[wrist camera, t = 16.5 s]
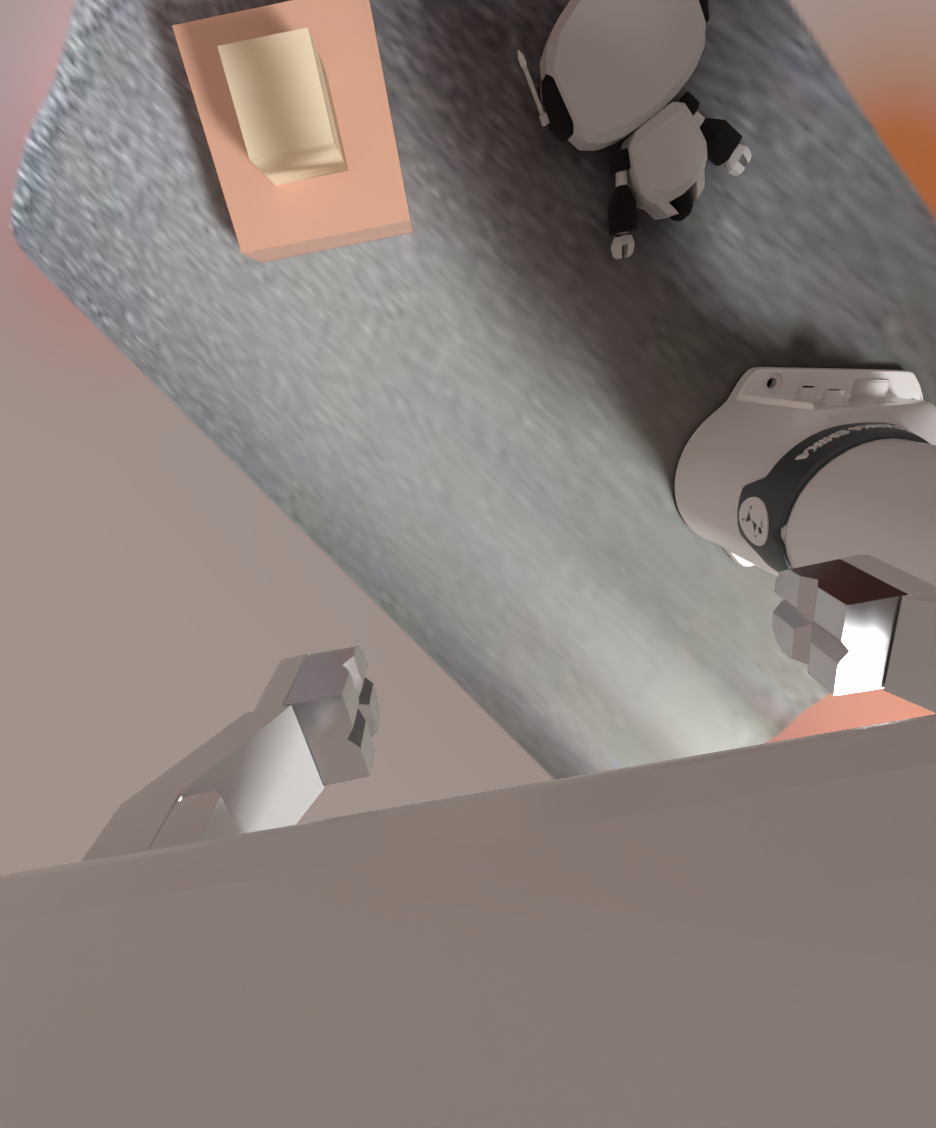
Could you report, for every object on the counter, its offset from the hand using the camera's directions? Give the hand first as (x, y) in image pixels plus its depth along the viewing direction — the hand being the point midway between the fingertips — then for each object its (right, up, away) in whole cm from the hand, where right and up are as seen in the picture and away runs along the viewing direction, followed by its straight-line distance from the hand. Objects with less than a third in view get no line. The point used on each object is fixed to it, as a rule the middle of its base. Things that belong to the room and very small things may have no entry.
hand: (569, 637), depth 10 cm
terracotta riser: (-13, +31, +26) cm, 43 cm away
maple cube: (-13, +30, +23) cm, 39 cm away
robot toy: (+10, +34, +27) cm, 44 cm away
